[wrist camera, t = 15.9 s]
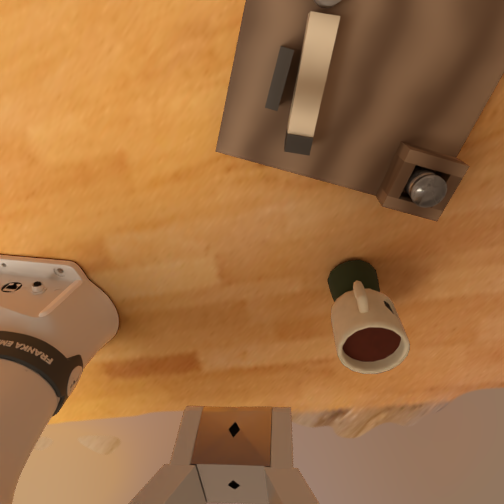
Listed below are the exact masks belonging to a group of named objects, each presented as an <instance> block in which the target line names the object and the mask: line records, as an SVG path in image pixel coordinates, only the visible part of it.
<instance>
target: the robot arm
mask: <svg viewBox="0 0 504 504" xmlns="http://www.w3.org/2000/svg"><path fill="white" fill-rule="evenodd" d="M62 269H63V270H62ZM118 326H119V318H118V313H117V311H116V308H115V306H114V304H113V303H112V301H111V300H110V299H109V297H108V296H107V295H106V294H105V293H104V292H103V291H102V290H101V289H99V288H98V287H97V286H96V285H94V284H93V283H92V282H91V281H90V280H89V279H88V278H87V277H86V275H85V274H84V272H83V271H82V269H81V268H80V267H79V266H78V265H77V264H76V263H74V262H72V261H65V260H54V259H42V258H31V257H20V256H9V255H0V504H12V501H13V496H14V492H15V489H16V485H17V483H18V479H19V477H20V475H21V472H22V470H23V468H24V466H25V464H26V462H27V460H28V458H29V456H30V453H31V452H32V450H33V448H34V446H35V445H36V443H37V441H38V439H39V437H40V435H41V434H42V432H43V430H44V428H45V427H46V425H47V423H48V422H49V420H50V419H51V417H52V416H54V415H56V414H57V413H58V412H59V410H60V409H61V407H62V406H63V404H64V403H65V401H66V400H67V398H68V397H69V396H70V395H71V393H72V392H73V390H74V388H75V387H76V385H77V383H78V381H79V379H80V377H81V374H82V372H83V369H84V368H85V366H86V365H87V364H88V363H89V361H90V360H91V359H92V358H93V357H94V355H95V354H96V353H97V352H98V351H99V350H100V349H101V348H102V347H103V346H104V345H105V344H106V343H107V342H109V341H110V340H111V339H112V338H113V337H114V336H115V334H116V332H117V330H118ZM206 503H243V504H319V502H318V501H317V499H316V497H315V496H314V494H313V492H312V491H311V489H310V488H309V486H308V484H307V483H306V481H305V479H304V478H303V476H302V474H301V473H300V471H299V469H298V468H293V443H292V420H291V407H208V406H187V407H186V409H185V410H184V412H183V416H182V420H181V423H180V427H179V431H178V434H177V438H176V442H175V445H174V449H173V453H172V457H171V460H170V464H164V465H163V466H162V467H161V468H160V469H159V471H158V472H157V473H156V474H155V475H154V476H153V477H152V478H151V479H150V480H149V482H148V483H147V484H146V485H145V486H144V487H143V488H142V489H141V490H140V491H139V493H138V494H137V495H136V496H135V497H134V498H133V499H132V500H131V501H130V503H129V504H206Z"/></svg>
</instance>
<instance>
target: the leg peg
mask: <svg viewBox="0 0 504 504" xmlns="http://www.w3.org/2000/svg"><path fill="white" fill-rule="evenodd" d="M404 189H405V191H406V192H407V193H408V194H409V195H410V197H411V199H412V201H413V202H414V203H415V204H416V205H417V206H420V207H424V208H427V207H432V206H435V205H436V204H438V203H439V202H441V201H442V200H443V198H444V197H445V195H446V192H447V184H446V182H445V181H444V180H443V179H442V178H441V177H440V176H438V175H436V174H435V173H433V172H432V171H431V170H430V169H429V168H425V167H422V166H418V165H416V166H415V168H414V170H413V172H412V174H411V176H410V178H409V180H408V181H407V183H406V185H405V187H404Z"/></svg>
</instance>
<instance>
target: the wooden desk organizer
mask: <svg viewBox="0 0 504 504" xmlns="http://www.w3.org/2000/svg"><path fill="white" fill-rule="evenodd" d="M310 11H312V12H318V13H324V14H330V15H336V16H340V21H339V25H338V30H337V34H336V39H335V43H334V47H333V52H332V56H331V61H330V65H329V69H328V74H327V78H326V83H325V87H324V91H323V96H322V100H321V105H320V109H319V114H318V118H317V122H316V127H315V131H314V136H313V142H312V147H311V151H310V156H308V155H302V154H296V153H290V152H284V141H285V136H286V131H287V125H288V120H289V115H290V109H291V104H292V99H293V93H294V88H295V83H296V77H297V72H298V67H299V61H300V56H301V50H302V45H303V40H304V34H305V29H306V24H307V18H308V14H309V13H310ZM503 73H504V0H341V1H340V2H338V3H337V4H336V5H334V6H333V7H330V8H322V7H320V6H318V5H317V4H316V3H315V2H314V0H246V2H245V7H244V12H243V17H242V22H241V27H240V32H239V37H238V42H237V47H236V52H235V57H234V62H233V67H232V72H231V77H230V82H229V87H228V92H227V97H226V102H225V107H224V112H223V117H222V122H221V127H220V132H219V137H218V142H217V147H216V152H219V153H223V154H226V155H230V156H234V157H237V158H241V159H245V160H248V161H252V162H255V163H259V164H263V165H266V166H270V167H274V168H277V169H281V170H285V171H288V172H292V173H295V174H299V175H303V176H306V177H310V178H314V179H317V180H321V181H325V182H328V183H332V184H335V185H339V186H343V187H346V188H350V189H354V190H357V191H361V192H364V193H368V194H372V195H375V196H376V197H377V199H378V200H379V202H380V203H381V205H382V206H383V207H386V208H390V209H394V210H397V211H401V212H405V213H408V214H412V215H416V216H419V217H423V218H427V219H430V220H434V221H438V219H439V217H440V216H441V214H442V212H443V211H444V209H445V207H446V205H447V204H448V202H449V200H450V199H451V197H452V195H453V194H454V192H455V190H456V188H457V187H458V185H459V183H460V182H461V180H462V178H463V177H464V175H465V173H466V171H467V170H468V168H469V166H468V165H467V164H465V163H464V162H462V161H461V160H459V159H458V158H456V157H457V155H458V153H459V152H460V150H461V148H462V146H463V144H464V143H465V141H466V139H467V137H468V136H469V134H470V132H471V130H472V128H473V127H474V125H475V123H476V121H477V119H478V118H479V116H480V114H481V112H482V111H483V109H484V107H485V105H486V103H487V102H488V100H489V98H490V96H491V95H492V93H493V91H494V89H495V87H496V86H497V84H498V82H499V80H500V79H501V77H502V75H503ZM416 165H418V166H422V167H425V168H429V169H430V170H431V171H432V172H433V173H435V174H436V175H438V176H440V177H441V178H442V179H443V180H444V181H445V182H446V184H447V192H446V195H445V197H444V198H443V200H442V201H441V202H439V203H438V204H436V205H435V206H432V207H427V208H424V207H420V206H417V205H416V204H415V203H414V202H413V201H412V199H411V197H410V195H409V194H408V193H407V192H406V191H405V189H404V187H405V185H406V183H407V181H408V180H409V178H410V176H411V174H412V172H413V170H414V168H415V166H416Z"/></svg>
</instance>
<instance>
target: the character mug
mask: <svg viewBox="0 0 504 504" xmlns="http://www.w3.org/2000/svg"><path fill="white" fill-rule="evenodd" d="M328 284H329V288H330V291H331V294H332V297H333V300H334V304H333V306H332V309H331V322H332V328H333V333H334V339H335V345H336V350H337V355H338V357H339V359H340V360H341V362H342V364H343V365H345V366H346V367H347V368H349V369H350V370H352V371H355V372H359V373H362V374H378V373H382V372H385V371H389V370H391V369H393V368H394V367H396V366H398V365H399V364H401V363H402V361H403V360H404V359H405V358H406V357H407V355H408V352H409V350H410V344H409V340H408V337H407V335H406V332H405V330H404V328H403V325H402V323H401V321H400V318H399V316H398V313H397V311H396V309H395V306H394V304H393V302H392V300H391V299H390V298H389V297H387V296H386V295H385V294H384V293H381V292H380V289H379V283H378V278H377V274H376V270H375V269H374V268H373V267H372V266H371V265H370V264H369V263H367V262H364V261H362V260H354V261H348V262H345V263H343V264H340V265H338V266H337V267H336V268H335V269H334V270H332V271H331V273H330V275H329V278H328Z"/></svg>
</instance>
